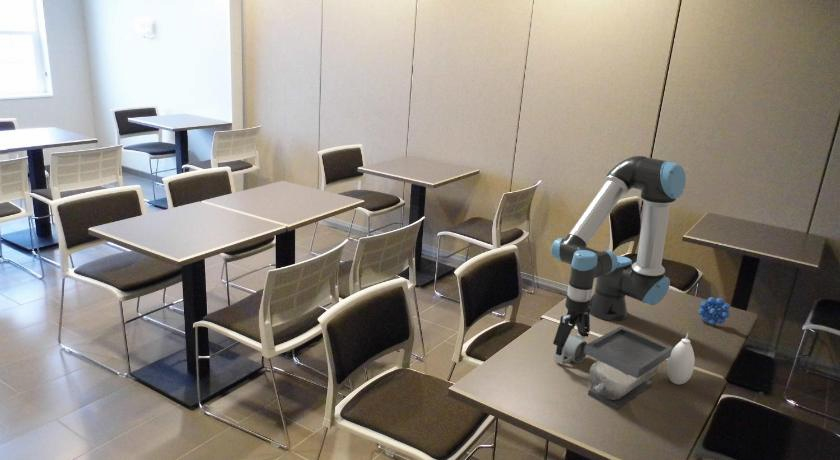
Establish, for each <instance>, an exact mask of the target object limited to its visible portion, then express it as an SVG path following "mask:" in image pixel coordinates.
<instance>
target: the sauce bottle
mask: <svg viewBox="0 0 840 460" xmlns="http://www.w3.org/2000/svg"><path fill="white" fill-rule="evenodd" d="M688 337H689V332H687V333H686V335H685V338H682V339H681V340H680V341H679V342H678V343H677V344H675V346H674V347H673V348H672V352H671V356H670V357H669V358H668V359H667V362H666V373H667V378H668V379H669V380H670V381H671V382H672V383H673V384H674V385H682V384H685V383H687V382H688V381H689V380H690V378H691V377H692V376H693V373H694V369H695V364H696V363H695V359H696V358H695V353H694V348H693V346H692V344H691V340H690V339H688Z"/></svg>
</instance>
